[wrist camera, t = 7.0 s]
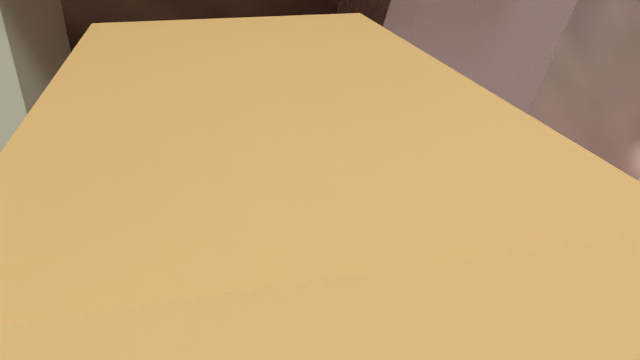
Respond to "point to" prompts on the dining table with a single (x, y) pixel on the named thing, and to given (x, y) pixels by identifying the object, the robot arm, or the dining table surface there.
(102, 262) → the book
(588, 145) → the dining table surface
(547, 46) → the block
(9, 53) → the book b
